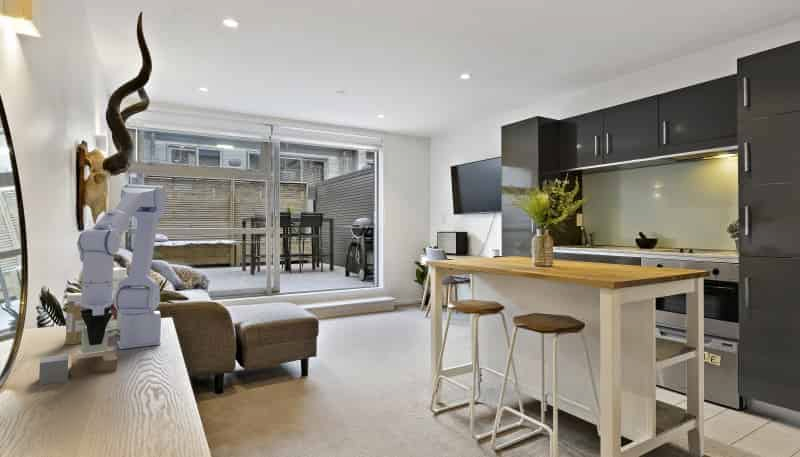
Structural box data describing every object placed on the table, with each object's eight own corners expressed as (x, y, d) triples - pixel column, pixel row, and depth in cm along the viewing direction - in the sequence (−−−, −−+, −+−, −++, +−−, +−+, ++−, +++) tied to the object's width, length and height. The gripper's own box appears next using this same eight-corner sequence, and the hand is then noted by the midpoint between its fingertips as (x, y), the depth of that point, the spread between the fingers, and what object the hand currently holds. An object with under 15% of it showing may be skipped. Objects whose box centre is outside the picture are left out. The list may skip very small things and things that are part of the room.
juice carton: (84, 331, 128) (86, 268, 128) (107, 325, 137) (110, 266, 137) (105, 333, 127) (108, 269, 127) (128, 327, 135) (131, 267, 136)
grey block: (67, 375, 91) (68, 354, 91) (67, 381, 88) (68, 359, 88) (40, 378, 89) (41, 357, 89) (38, 385, 85) (39, 363, 85)
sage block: (105, 345, 99) (106, 326, 99) (106, 350, 95) (107, 330, 95) (81, 348, 96) (82, 328, 96) (82, 353, 93) (82, 332, 93)
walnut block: (113, 362, 101) (114, 350, 101) (116, 372, 95) (117, 359, 95) (71, 368, 96) (71, 355, 96) (71, 378, 90) (72, 364, 90)
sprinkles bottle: (85, 343, 115) (87, 294, 115) (63, 345, 113) (65, 295, 113) (86, 339, 119) (88, 292, 119) (65, 341, 116) (67, 292, 117)
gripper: (74, 279, 99) (72, 337, 99) (76, 286, 88) (73, 352, 88) (111, 278, 104) (108, 333, 103) (116, 285, 92) (114, 347, 92)
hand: (95, 342), depth 96 cm, fingers closed on sage block, 4 cm apart
